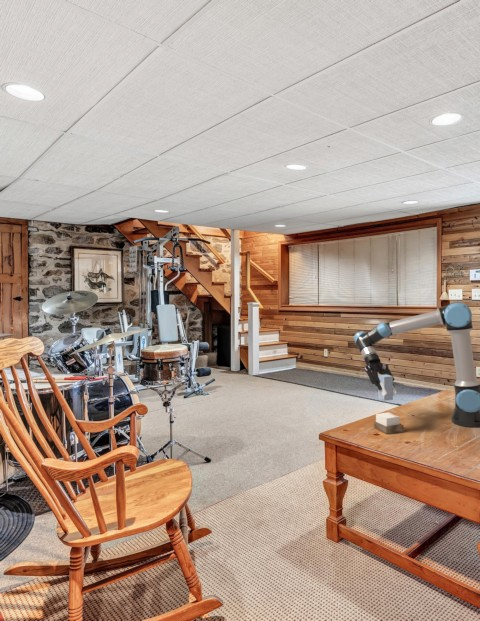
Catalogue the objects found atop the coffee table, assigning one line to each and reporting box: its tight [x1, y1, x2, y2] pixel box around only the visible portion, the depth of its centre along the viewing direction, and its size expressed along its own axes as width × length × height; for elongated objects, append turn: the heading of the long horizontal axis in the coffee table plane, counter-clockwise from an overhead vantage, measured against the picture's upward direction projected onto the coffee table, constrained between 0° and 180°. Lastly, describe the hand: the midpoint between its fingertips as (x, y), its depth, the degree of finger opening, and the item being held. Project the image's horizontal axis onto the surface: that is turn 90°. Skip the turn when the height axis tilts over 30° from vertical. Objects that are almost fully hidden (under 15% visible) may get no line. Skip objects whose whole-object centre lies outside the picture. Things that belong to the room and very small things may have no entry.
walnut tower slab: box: [373, 420, 404, 435], centre depth 211 cm, size 10×10×4 cm
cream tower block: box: [375, 411, 400, 426], centre depth 211 cm, size 8×8×4 cm
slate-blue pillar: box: [377, 374, 394, 402], centre depth 211 cm, size 5×5×12 cm
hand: (390, 394), depth 207 cm, fingers closed on slate-blue pillar, 5 cm apart
